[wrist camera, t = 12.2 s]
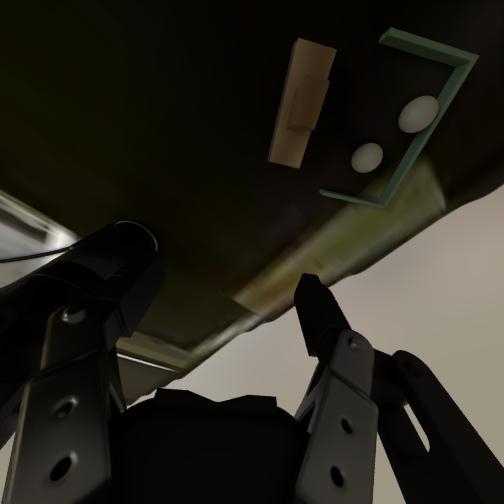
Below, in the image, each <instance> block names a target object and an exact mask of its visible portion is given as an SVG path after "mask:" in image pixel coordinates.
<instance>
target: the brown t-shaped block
mask: <svg viewBox="0 0 504 504" xmlns="http://www.w3.org/2000/svg"><path fill="white" fill-rule="evenodd" d="M336 51H337V50H336V49H334V48H330V47H327V46H324V45H320V44H317V43H314V42H310V41H307V40H304V39H300V38H298V40H297V42H295V43H294V45H293V48H292V52H291V56H290V60H289V65H288V69H287V74H286V78H285V83H284V87H283V92H282V96H281V101H280V105H279V110H278V114H277V118H276V123H275V127H274V132H273V136H272V141H271V145H270V150H269V154H268V159H267V161H268V162H272V163H276V164H280V165H284V166H289V167H293V168H297V169H298V168H300V165H301V161H302V158H303V155H304V152H305V149H306V146H307V142H308V139H309V136H310V133H311V130H314V129H315V126H316V123H317V120H318V117H319V114H320V111H321V108H322V105H323V101H324V98H325V95H326V92H327V89H328V86H329V83H330V81H328V80H327V79H328V76H329V73H330V70H331V66H332V63H333V60H334V57H335V54H336Z"/></svg>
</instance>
